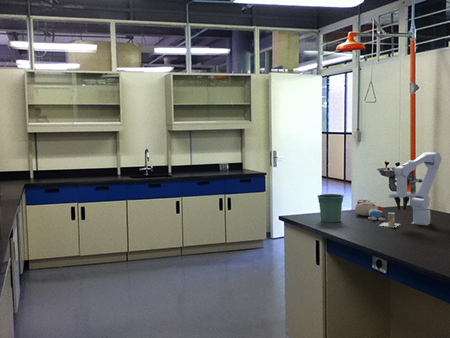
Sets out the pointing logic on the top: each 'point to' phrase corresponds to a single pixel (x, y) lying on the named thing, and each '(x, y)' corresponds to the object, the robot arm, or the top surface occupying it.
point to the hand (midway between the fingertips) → (401, 209)
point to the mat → (389, 226)
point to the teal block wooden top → (391, 219)
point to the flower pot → (330, 207)
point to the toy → (369, 209)
